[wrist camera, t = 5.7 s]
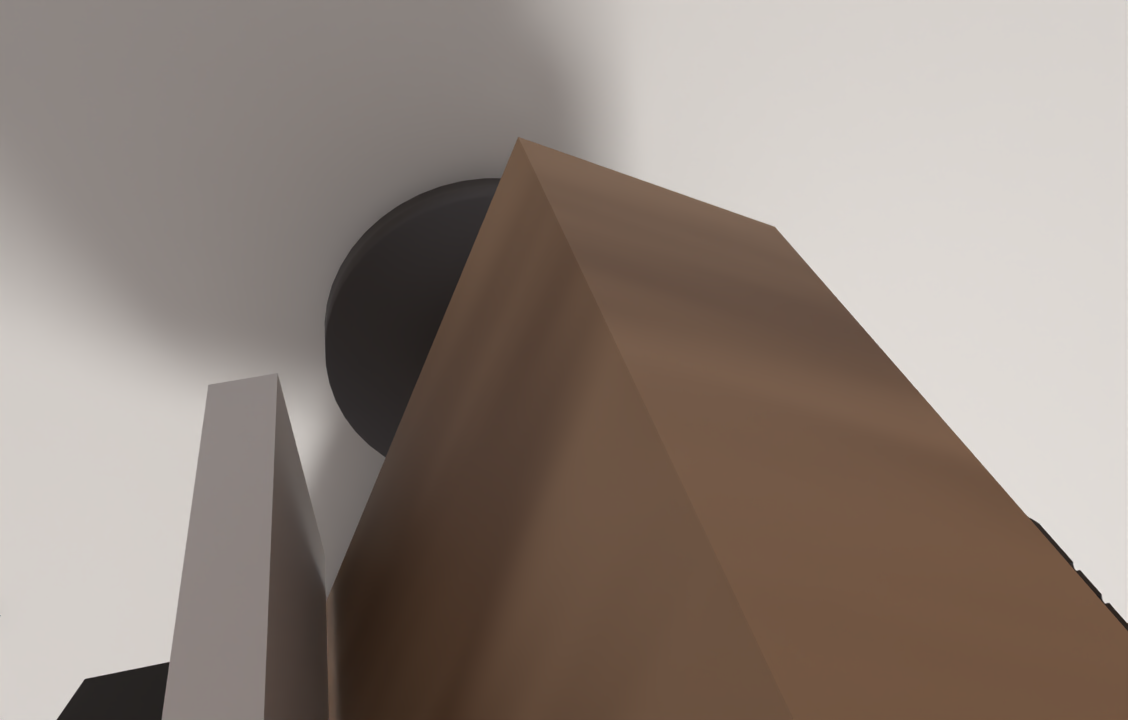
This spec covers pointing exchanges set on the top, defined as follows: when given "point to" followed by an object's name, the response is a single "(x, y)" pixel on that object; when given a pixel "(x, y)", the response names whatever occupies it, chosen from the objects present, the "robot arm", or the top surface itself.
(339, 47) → the dial board
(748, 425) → the key
